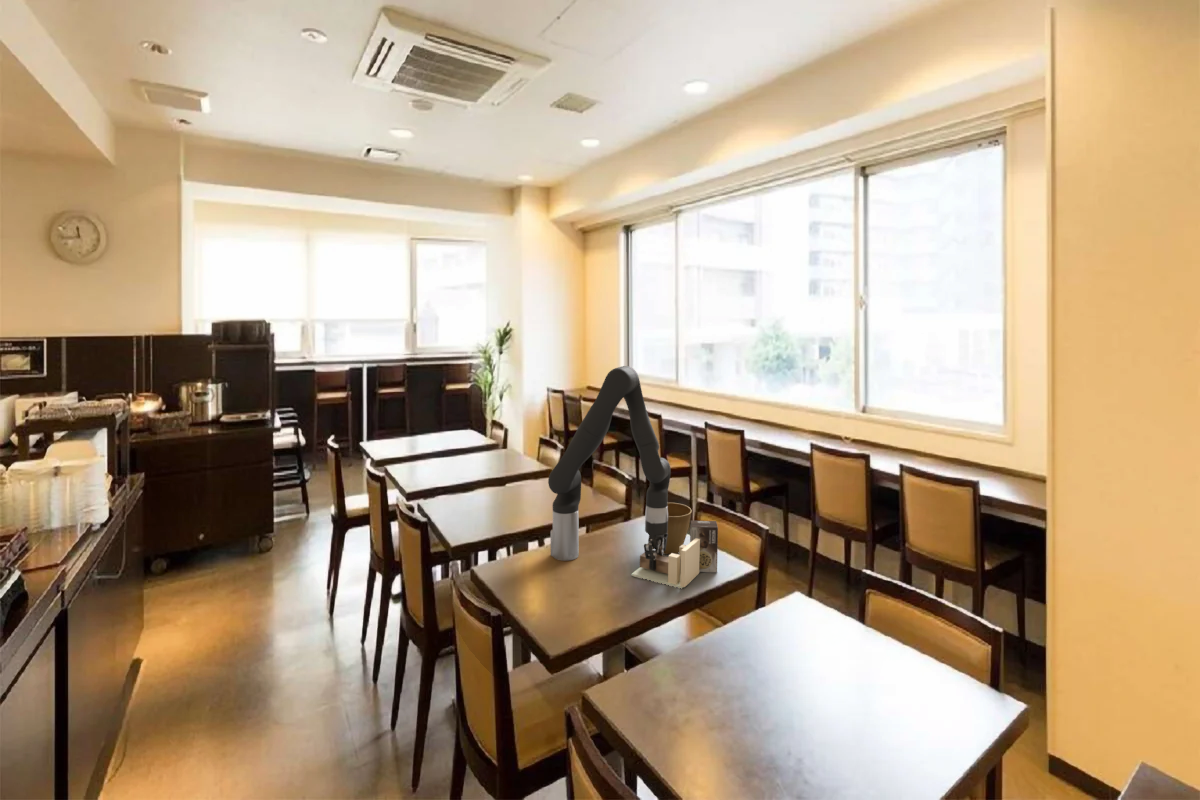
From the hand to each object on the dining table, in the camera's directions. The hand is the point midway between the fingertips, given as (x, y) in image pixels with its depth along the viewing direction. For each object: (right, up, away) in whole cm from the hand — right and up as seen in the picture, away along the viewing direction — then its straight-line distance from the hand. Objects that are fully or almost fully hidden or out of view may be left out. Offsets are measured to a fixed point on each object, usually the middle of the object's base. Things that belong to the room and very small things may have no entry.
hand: (655, 567), depth 200 cm
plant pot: (+7, 0, +19) cm, 21 cm away
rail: (+2, -1, -1) cm, 2 cm away
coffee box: (+17, -2, +4) cm, 17 cm away
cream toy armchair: (+3, -2, -2) cm, 4 cm away
